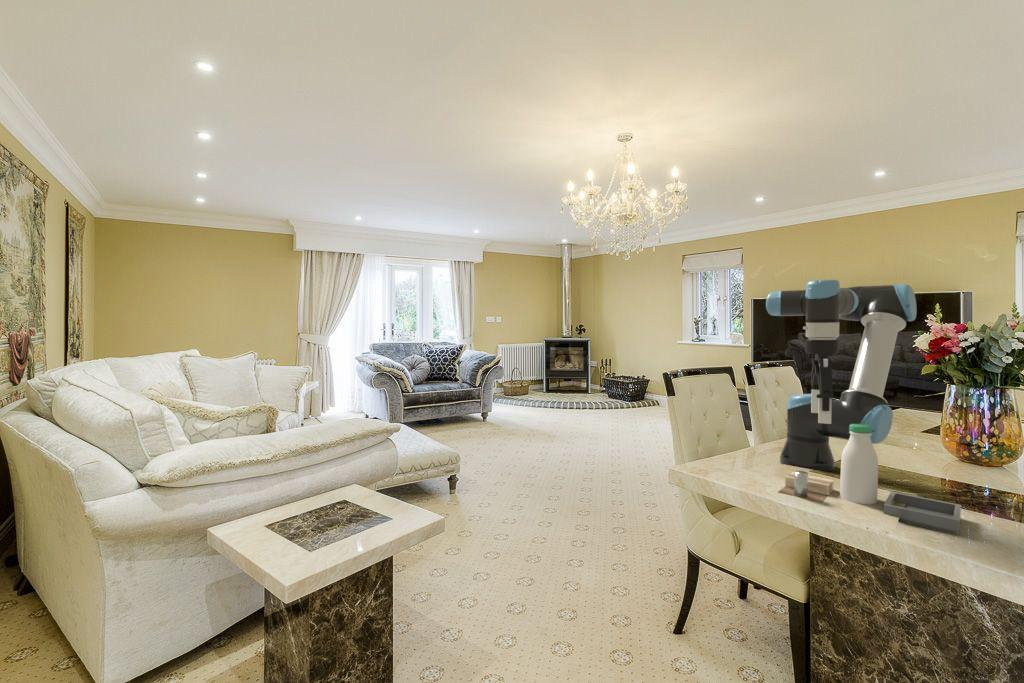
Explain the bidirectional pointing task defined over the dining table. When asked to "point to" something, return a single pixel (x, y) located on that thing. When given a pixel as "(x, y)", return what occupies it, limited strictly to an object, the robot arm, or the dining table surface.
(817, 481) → the light wooden block
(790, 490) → the board
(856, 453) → the milk bottle
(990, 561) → the dining table surface
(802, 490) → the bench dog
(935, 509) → the tray
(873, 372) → the robot arm
